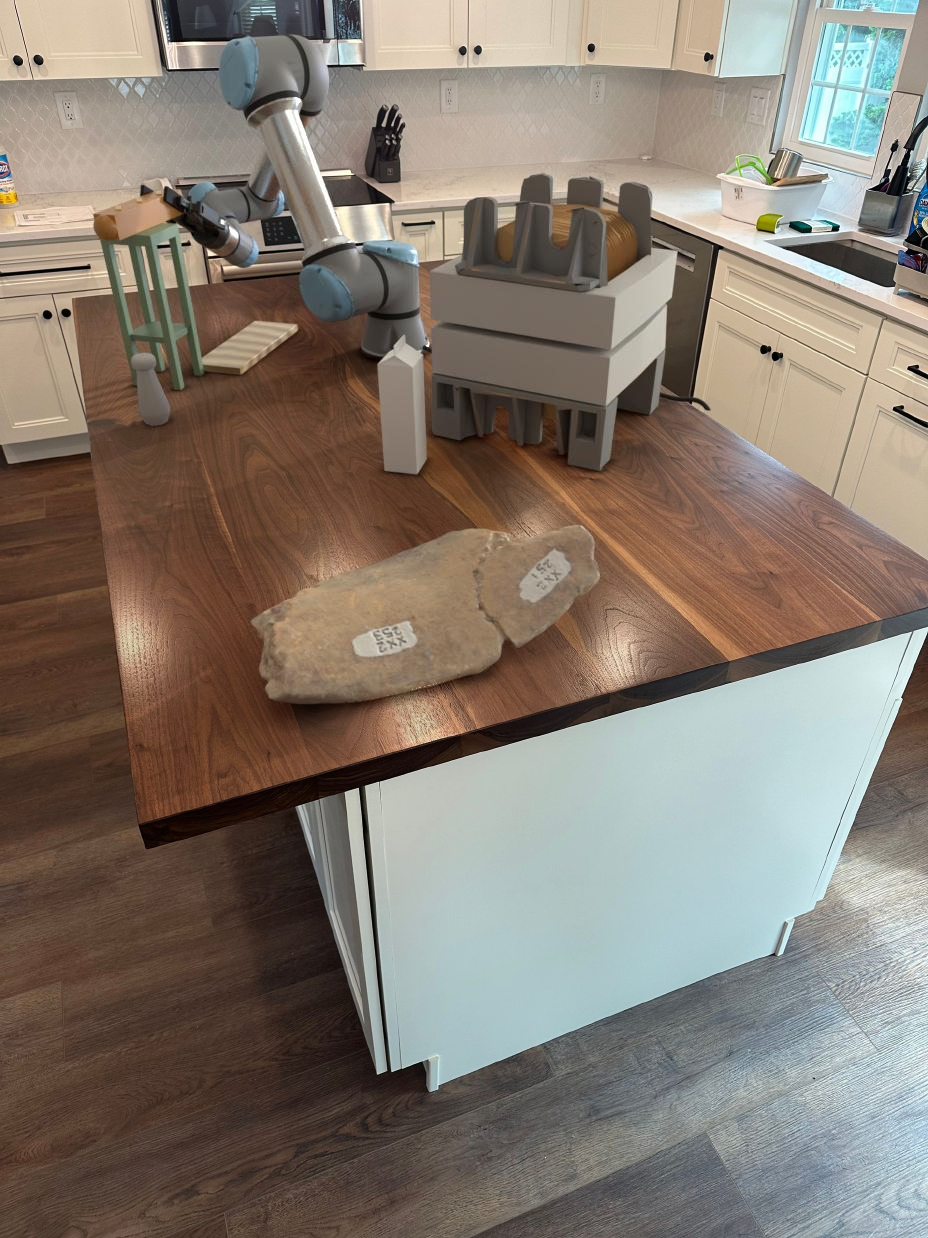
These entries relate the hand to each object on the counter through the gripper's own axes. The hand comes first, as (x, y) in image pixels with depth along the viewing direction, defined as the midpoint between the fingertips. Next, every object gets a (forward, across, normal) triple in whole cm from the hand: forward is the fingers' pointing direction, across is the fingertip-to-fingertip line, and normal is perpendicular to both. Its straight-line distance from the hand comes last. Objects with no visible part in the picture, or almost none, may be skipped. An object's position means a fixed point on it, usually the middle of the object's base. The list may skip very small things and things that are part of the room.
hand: (153, 192), depth 175 cm
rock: (+50, +78, +69) cm, 115 cm away
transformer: (-10, +82, +34) cm, 89 cm away
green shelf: (-11, 0, +34) cm, 36 cm away
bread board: (-29, +8, +23) cm, 38 cm away
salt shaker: (+6, +9, +44) cm, 46 cm away
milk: (+11, +61, +47) cm, 78 cm away
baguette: (+2, 0, +7) cm, 7 cm away
